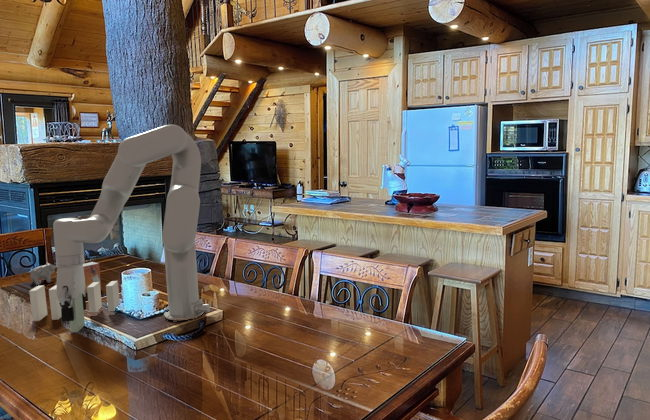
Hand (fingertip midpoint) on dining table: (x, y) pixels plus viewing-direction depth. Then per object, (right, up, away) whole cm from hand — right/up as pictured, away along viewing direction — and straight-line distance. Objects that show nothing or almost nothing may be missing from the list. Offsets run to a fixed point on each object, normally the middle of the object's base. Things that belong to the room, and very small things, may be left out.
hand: (74, 315), depth 148 cm
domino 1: (-17, -3, +12) cm, 21 cm away
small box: (-16, 0, +41) cm, 44 cm away
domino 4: (0, -3, +14) cm, 14 cm away
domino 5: (+6, -2, +14) cm, 16 cm away
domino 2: (-11, -3, +12) cm, 17 cm away
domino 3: (+1, -4, +1) cm, 4 cm away
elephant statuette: (-41, +2, +57) cm, 70 cm away
